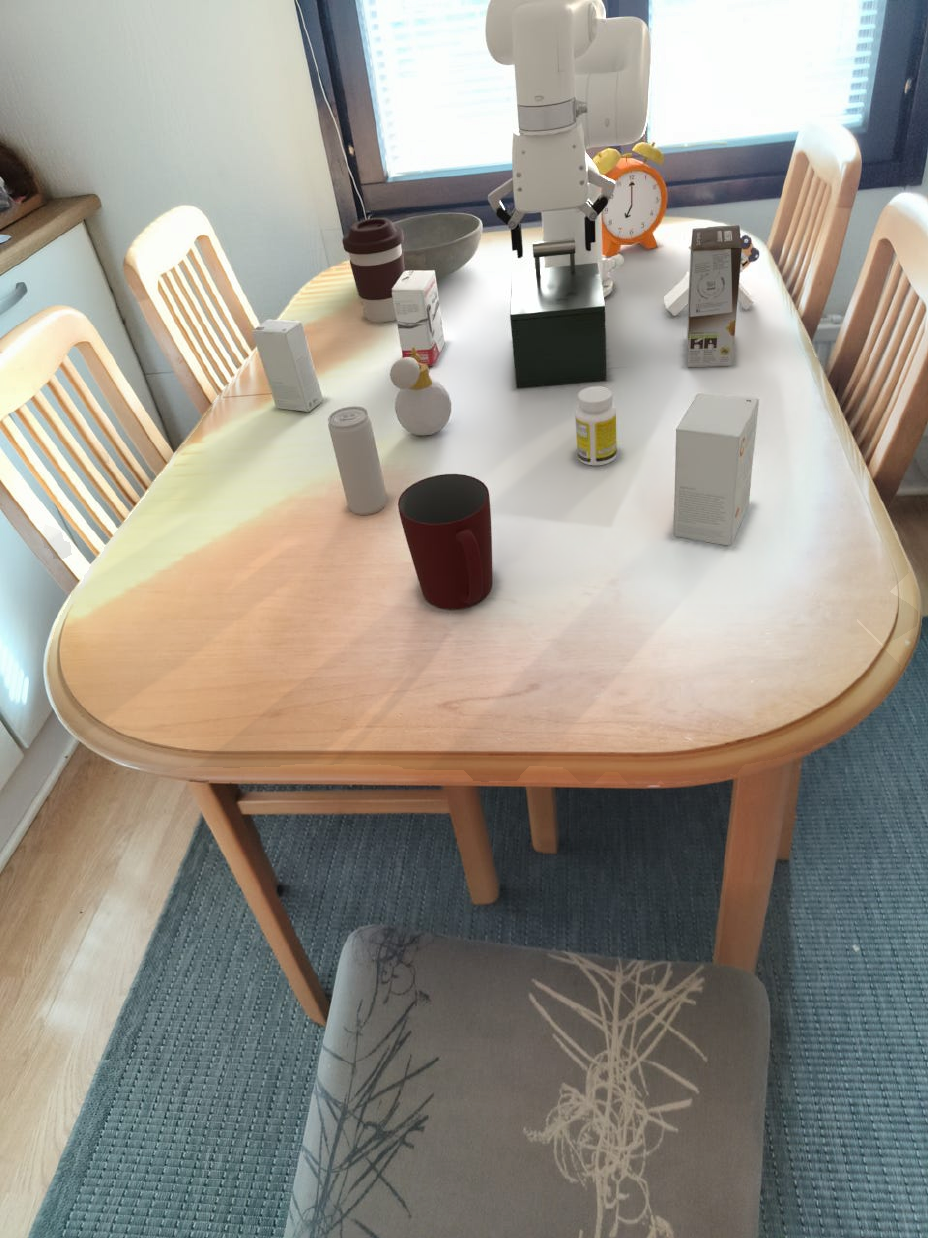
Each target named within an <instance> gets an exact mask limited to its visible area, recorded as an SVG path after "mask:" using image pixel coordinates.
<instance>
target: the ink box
mask: <svg viewBox="0 0 928 1238" xmlns="http://www.w3.org/2000/svg"><path fill="white" fill-rule="evenodd" d="M392 290H393V291H392V297H393V302H394V308H395V314H396V320H395V321H396V326H397V331H398V337H399V343H400V344H399V345H400V349H401V355H402V358H404V357H411V355H412V353H411V351H412V347H415V349H416V351H417V354H419V356H420V360H419V363H423V364H426V365H427V366H428V367H433V366H435V363H436V362H437V360H438V358H439V355H440V353H442V350H443V349H444V346H445V344H446V341H445V334H444V327H443V319H442V314H441V313H442V312H441V306H440V299H439V292H438V284H437V279H436V276H435V270H430V271H404V272H403V274H402V275H401V276H400V278H399V279H398V281H397V282H396V284H395V285H394V287H393V288H392Z"/></svg>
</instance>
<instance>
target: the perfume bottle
mask: <svg viewBox="0 0 928 1238" xmlns="http://www.w3.org/2000/svg"><path fill="white" fill-rule="evenodd" d="M411 353H412V355H411V357H404V358H403V357H401V358H399V359H398V360H396V361H395V362H394V363H393V365H392V366H391V368H390V371H389V378H390V381H391V383H392V385H393V386H395V388H397V389H399V391H398V392H397V394H396V397H395V400H394V412H395V416H396V419H397V421H398V423H399V424H400V425H401V427H402V428H403V429H404V430H406V431H407V432H408V433H411V434H413V435H416V436H431V435H434V434H436V433H438V432H440V431H441V430H443V428H445V426H446V425H447V424H448V422H449V419H450V417H451V413H452V401H451V397H450V394H449V392H448V391H447V389H446V388H445V386H443V385H442V384H441V383H440V382H439V381H437V380H435V379H432V378H431V376H430V372H429V366H427V365H426V364H423V363H419V360H420V356H419V354H417V351H416V349H415V347H412V351H411Z"/></svg>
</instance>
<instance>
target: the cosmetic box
mask: <svg viewBox="0 0 928 1238" xmlns="http://www.w3.org/2000/svg"><path fill="white" fill-rule="evenodd" d="M251 333H252V337H253V340H254V343H255V346H256V349H257V352H258V355H259V358H260V361H261V364H262V368H263V370H264V374H265V377H266V380H267V383H268V385H269V389H270V392H271V395H272V399H273V402H274V405H275V408H276V409H280V410H287V411H297V412H303V413H309V412H311V411H313V410H314V409H315V408H316V407H318V406H319V404H321V403H322V402H323V400H324V397H323V393H322V390H321V387H320V381H319V379H318V375H317V372H316V368H315V364H314V361H313V357H312V354H311V349H310V347H309V346H310V345H309V343H308V339H307V337H306V333H305V329H304V325H303V322H302V321H295V320H282V319H269V318H268V319H266V320H265V321H263V322H262V323H260V324H259V325H258V326H256V328H254V329H253V330H252V331H251Z"/></svg>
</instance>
